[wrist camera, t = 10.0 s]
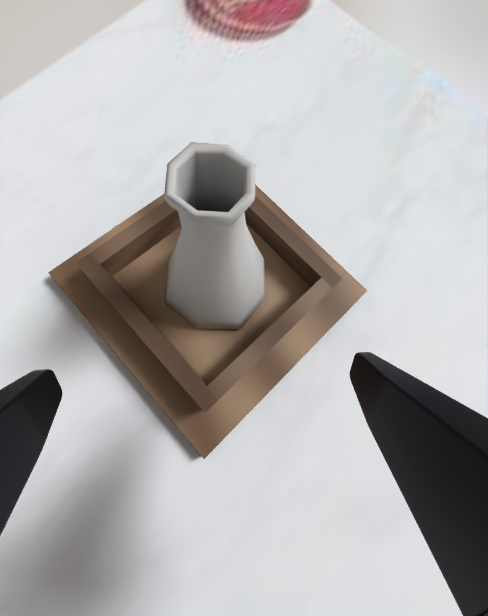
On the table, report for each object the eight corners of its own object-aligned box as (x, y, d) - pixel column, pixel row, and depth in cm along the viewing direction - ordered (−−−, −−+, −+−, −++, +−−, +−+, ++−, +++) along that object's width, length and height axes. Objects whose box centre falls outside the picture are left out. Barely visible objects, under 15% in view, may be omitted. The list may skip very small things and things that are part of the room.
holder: (204, 455, 16) (201, 470, 14) (55, 277, 18) (26, 259, 16) (361, 293, 20) (383, 281, 17) (222, 161, 22) (222, 131, 19)
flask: (248, 346, 17) (282, 309, 8) (147, 311, 17) (57, 231, 8) (278, 255, 19) (335, 135, 10) (187, 223, 19) (155, 73, 10)
